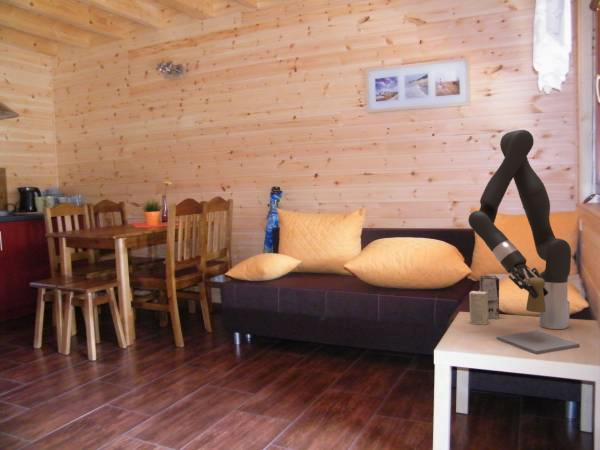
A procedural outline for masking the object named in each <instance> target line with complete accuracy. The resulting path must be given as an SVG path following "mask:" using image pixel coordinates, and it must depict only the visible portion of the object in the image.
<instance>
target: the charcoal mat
mask: <svg viewBox="0 0 600 450" xmlns="http://www.w3.org/2000/svg"><path fill="white" fill-rule="evenodd" d="M495 339H496V340H497V341H500V342H501V343H505V344H508V345H510V346H513V347H516V348H518V349H521V350H524V351H527V352H529V353H531V354H534V355H541V354H546V353H551V352H557V351H563V350H569V349H574V348H580V343H577V342H575V341H572V340H569V339H565V338H562V337H560V336H555V335H553V334H549V333H547V332H543V331H540V330H536V329H535V330H531V331H523V332H517V333H511V334H503V335H497V336H496V337H495Z"/></svg>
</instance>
